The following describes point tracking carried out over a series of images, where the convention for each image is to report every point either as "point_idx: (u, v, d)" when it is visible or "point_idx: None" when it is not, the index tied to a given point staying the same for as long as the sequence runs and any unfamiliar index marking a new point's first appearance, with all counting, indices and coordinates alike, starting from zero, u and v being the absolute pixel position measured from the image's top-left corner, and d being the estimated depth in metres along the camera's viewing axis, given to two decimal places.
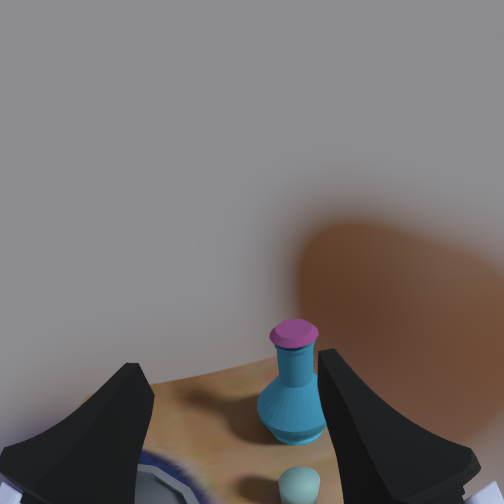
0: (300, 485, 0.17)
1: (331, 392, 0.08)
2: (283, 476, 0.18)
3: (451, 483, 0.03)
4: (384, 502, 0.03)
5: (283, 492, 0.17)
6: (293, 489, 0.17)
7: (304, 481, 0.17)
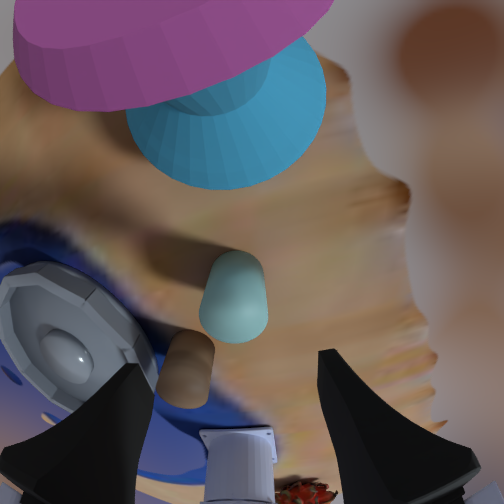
0: (236, 322, 0.14)
1: (331, 392, 0.08)
2: (205, 306, 0.14)
3: (451, 483, 0.03)
4: (384, 502, 0.03)
5: (210, 332, 0.15)
6: (225, 329, 0.15)
7: (241, 316, 0.14)
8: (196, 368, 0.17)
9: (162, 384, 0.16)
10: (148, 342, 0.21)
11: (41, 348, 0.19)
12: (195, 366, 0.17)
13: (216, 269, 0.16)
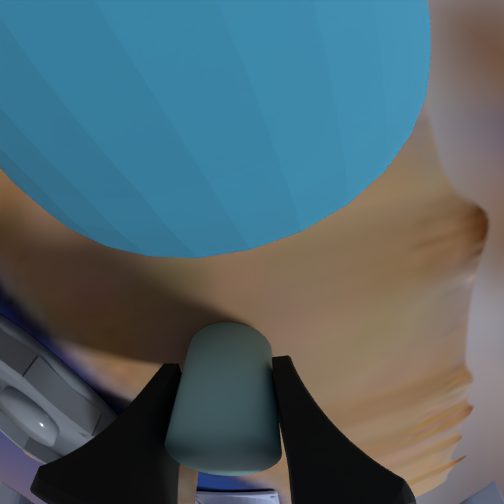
0: (228, 460, 0.07)
1: (278, 400, 0.08)
2: (173, 443, 0.06)
3: None
4: None
5: (187, 464, 0.07)
6: (210, 465, 0.07)
7: (236, 455, 0.07)
8: None
9: None
10: None
11: None
12: None
13: (193, 365, 0.09)
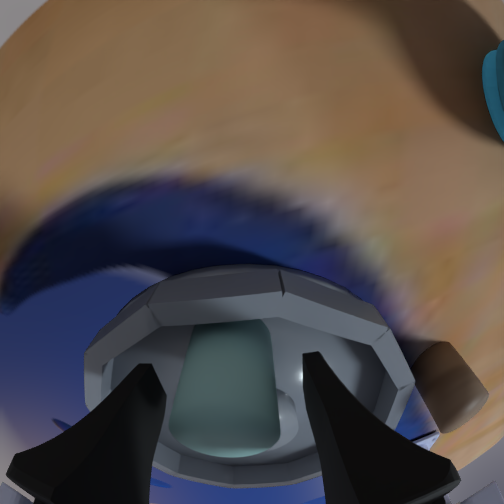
0: (229, 440, 0.08)
1: (313, 396, 0.08)
2: (177, 421, 0.07)
3: (425, 496, 0.03)
4: None
5: (189, 445, 0.08)
6: (212, 445, 0.08)
7: (236, 434, 0.07)
8: (479, 380, 0.11)
9: (458, 411, 0.10)
10: None
11: None
12: (478, 379, 0.11)
13: (196, 348, 0.10)
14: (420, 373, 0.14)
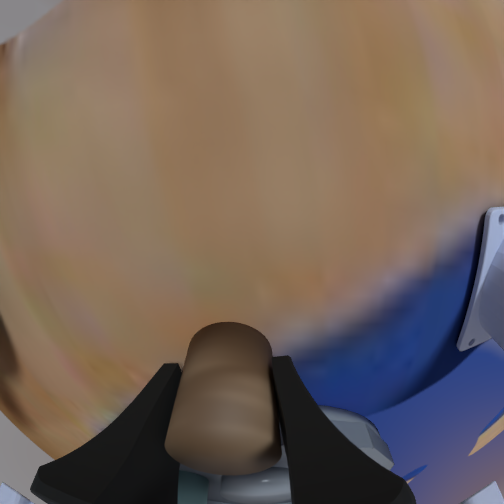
0: None
1: (278, 400, 0.08)
2: None
3: None
4: None
5: None
6: None
7: None
8: (175, 408, 0.07)
9: (202, 468, 0.07)
10: None
11: (244, 502, 0.14)
12: (175, 406, 0.08)
13: None
14: None
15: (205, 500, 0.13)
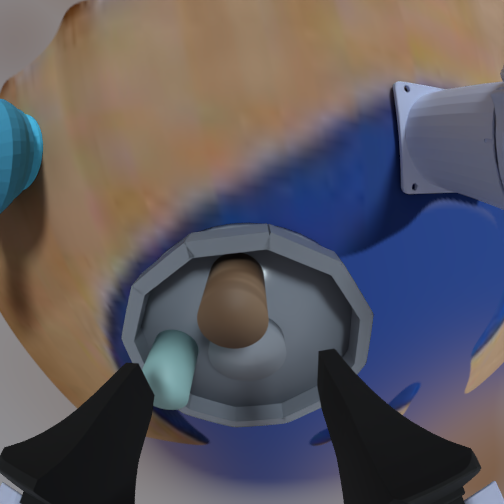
0: (166, 393, 0.16)
1: (331, 392, 0.08)
2: (156, 405, 0.16)
3: (451, 483, 0.03)
4: (384, 502, 0.03)
5: (181, 406, 0.16)
6: (175, 399, 0.16)
7: (159, 390, 0.16)
8: (204, 292, 0.14)
9: (218, 339, 0.14)
10: (215, 227, 0.18)
11: (232, 377, 0.20)
12: (205, 292, 0.14)
13: None
14: None
15: (193, 362, 0.19)
